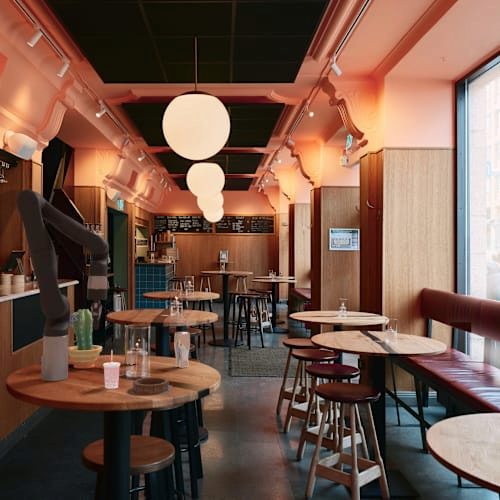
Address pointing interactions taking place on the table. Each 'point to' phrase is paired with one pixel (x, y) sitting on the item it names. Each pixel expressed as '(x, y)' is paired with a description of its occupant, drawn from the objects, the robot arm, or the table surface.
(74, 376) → the table surface
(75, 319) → the potted cactus
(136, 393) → the mat
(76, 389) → the table surface
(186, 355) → the beer glass
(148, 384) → the bowl
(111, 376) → the beverage cup
